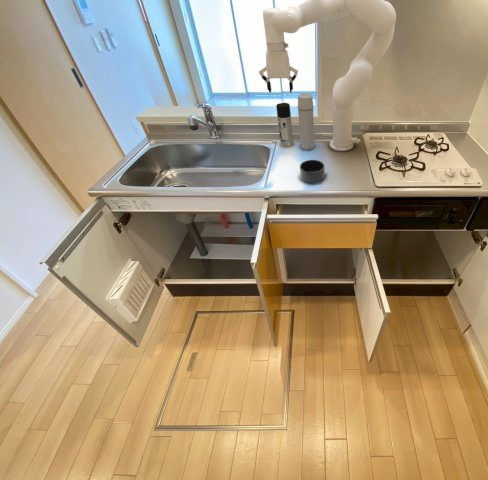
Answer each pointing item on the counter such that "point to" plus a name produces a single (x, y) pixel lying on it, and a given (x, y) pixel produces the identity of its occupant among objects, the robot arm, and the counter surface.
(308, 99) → the water bottle
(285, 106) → the spray can
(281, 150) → the counter surface
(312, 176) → the can holder
